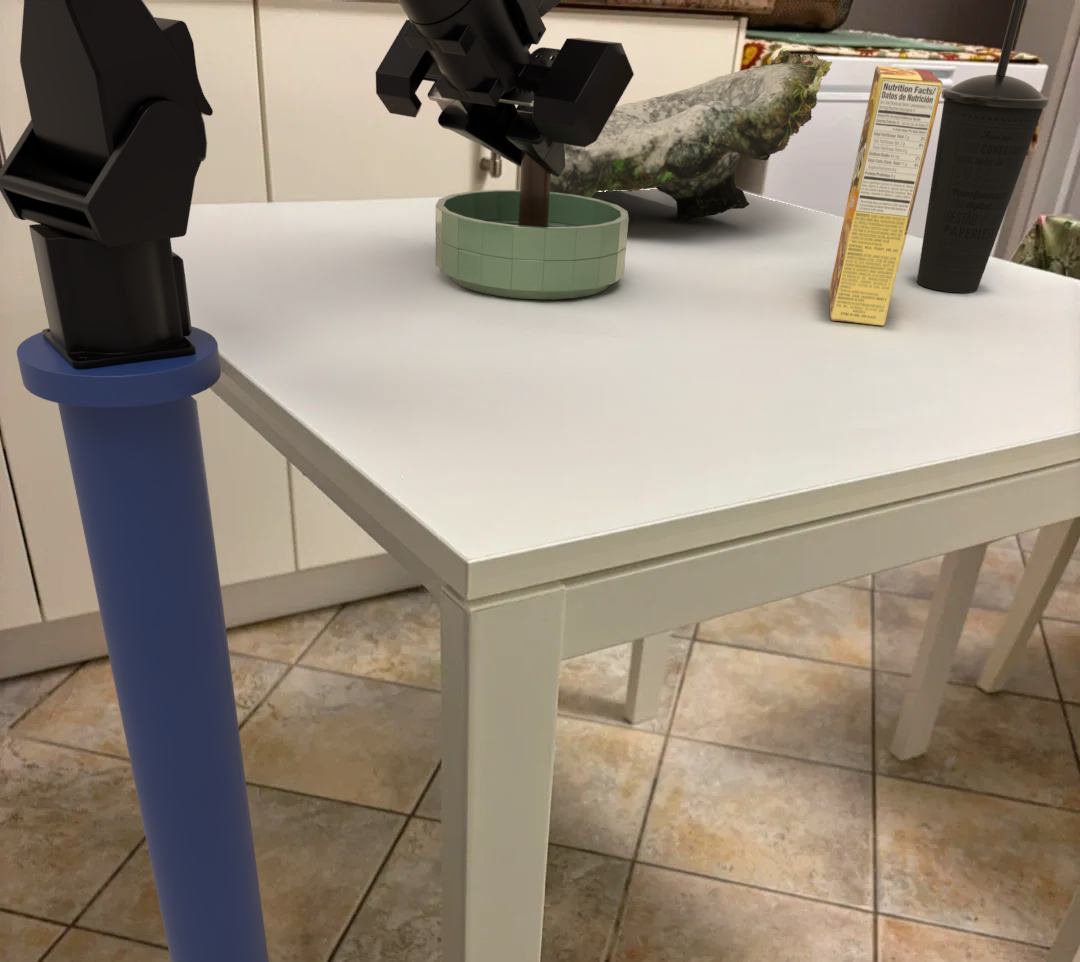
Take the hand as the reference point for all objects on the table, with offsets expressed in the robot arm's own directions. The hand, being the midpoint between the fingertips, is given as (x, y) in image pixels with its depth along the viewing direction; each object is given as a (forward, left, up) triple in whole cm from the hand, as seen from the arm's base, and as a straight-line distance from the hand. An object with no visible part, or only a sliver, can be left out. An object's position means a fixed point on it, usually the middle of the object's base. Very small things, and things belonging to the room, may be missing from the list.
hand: (547, 168), depth 81 cm
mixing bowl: (-1, 0, -7) cm, 8 cm away
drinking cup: (+30, -15, -8) cm, 34 cm away
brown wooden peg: (-1, 0, -7) cm, 7 cm away
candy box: (+17, -17, -8) cm, 25 cm away
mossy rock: (+25, +16, -8) cm, 30 cm away
